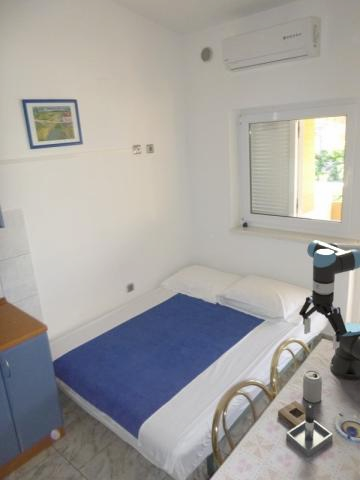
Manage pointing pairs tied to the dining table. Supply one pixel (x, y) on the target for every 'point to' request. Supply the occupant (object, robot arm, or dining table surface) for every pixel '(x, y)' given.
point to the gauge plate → (293, 408)
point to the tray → (307, 447)
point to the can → (312, 386)
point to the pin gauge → (309, 422)
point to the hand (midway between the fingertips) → (321, 340)
